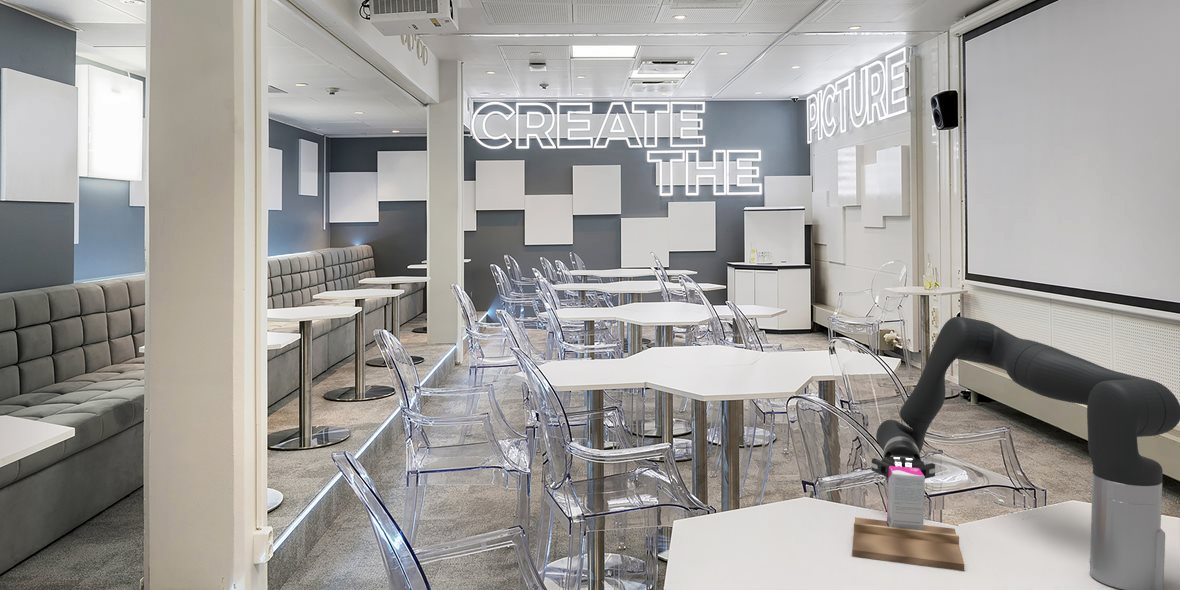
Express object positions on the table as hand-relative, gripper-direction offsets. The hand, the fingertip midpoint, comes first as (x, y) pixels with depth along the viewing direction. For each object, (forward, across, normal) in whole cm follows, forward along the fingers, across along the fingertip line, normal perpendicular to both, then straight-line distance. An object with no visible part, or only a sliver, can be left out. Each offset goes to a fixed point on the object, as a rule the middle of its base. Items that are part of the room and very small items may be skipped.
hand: (904, 479), depth 147 cm
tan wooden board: (+11, 0, +9) cm, 14 cm away
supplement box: (+6, 0, +8) cm, 10 cm away
